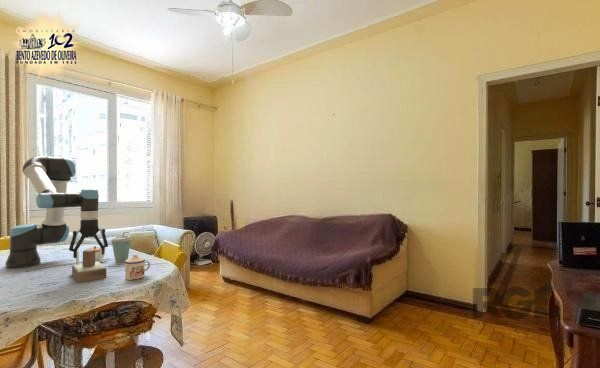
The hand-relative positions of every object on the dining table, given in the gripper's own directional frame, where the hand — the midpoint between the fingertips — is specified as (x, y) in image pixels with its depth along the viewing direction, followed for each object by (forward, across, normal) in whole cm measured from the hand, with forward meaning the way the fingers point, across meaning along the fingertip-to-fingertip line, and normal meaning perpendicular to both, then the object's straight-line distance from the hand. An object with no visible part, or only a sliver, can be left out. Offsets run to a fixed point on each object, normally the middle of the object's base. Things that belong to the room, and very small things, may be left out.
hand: (89, 262), depth 157 cm
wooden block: (+2, 0, 0) cm, 2 cm away
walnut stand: (+7, 0, 0) cm, 7 cm away
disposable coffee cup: (+7, +20, +23) cm, 31 cm away
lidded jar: (+7, +8, +33) cm, 35 cm away
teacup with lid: (+7, +18, -19) cm, 27 cm away
